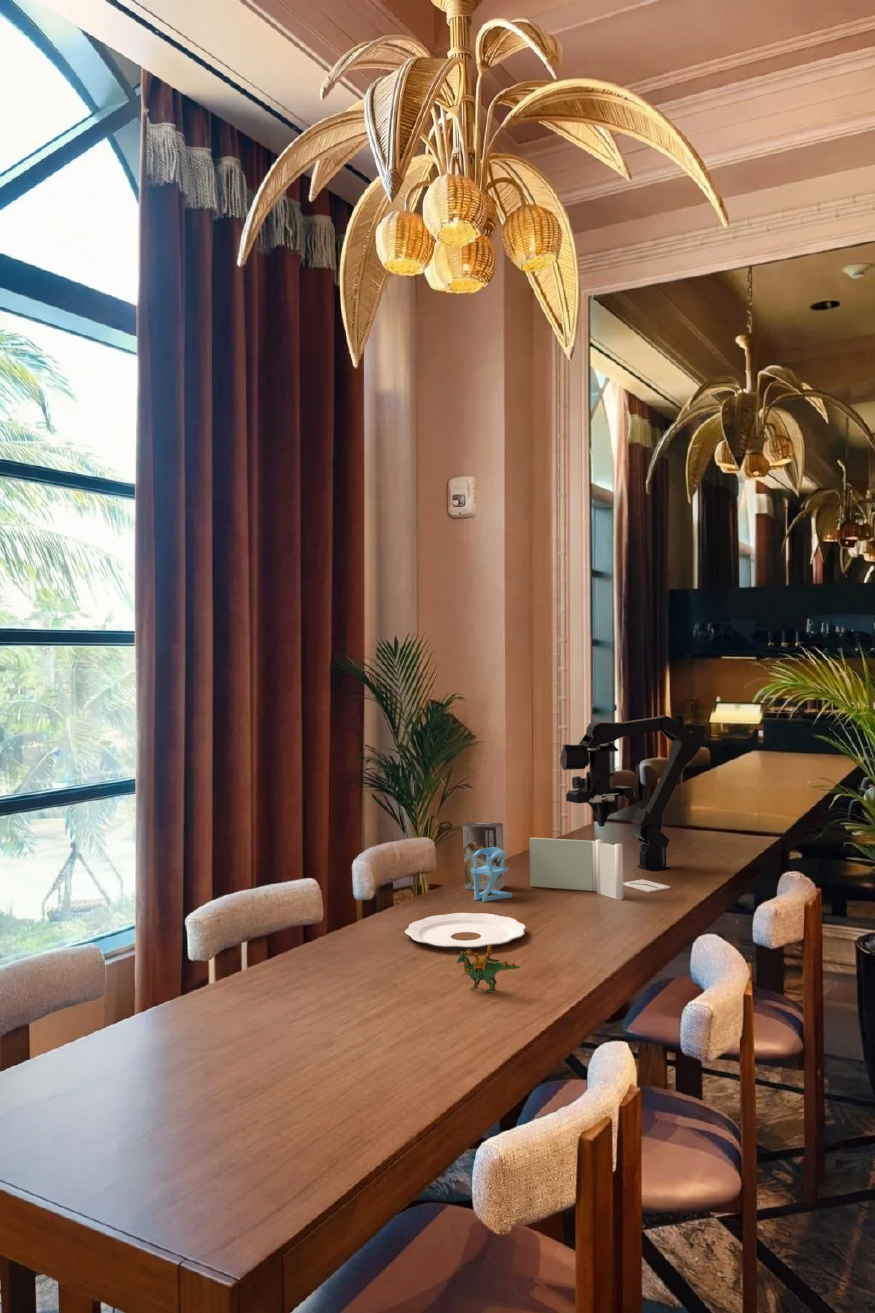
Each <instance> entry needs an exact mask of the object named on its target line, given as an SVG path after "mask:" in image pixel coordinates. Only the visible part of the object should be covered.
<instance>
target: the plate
mask: <svg viewBox="0 0 875 1313" xmlns="http://www.w3.org/2000/svg"><path fill="white" fill-rule="evenodd" d="M526 929H527V927H526V925H525V924H523V923H521V922H519V921H518V920H516V919H515V918H512V917H509V916H502V915H496V914H492V913H487V912H486V913H484V912H481V913H480V912H479V913H478V912H477V913H476V912H474V913H471V912H455V913H448V914H447V913H446V914H440V915H439V914H438V915H432V916H427V917H425V918H423V919H420V920H415V921H413V922H411V923H409V925H408V928H406V929H405V931H404V932H405V935H406V936H408V937H409V938H411V939H412V941H414V942H416V943H418V944H423V945H424V944H425V945H426V946H430V947H432V948H436V949H437V948H438V949H443V950H451V951H452V950H453V951H468V950H470V951H473V950H474V951H477V950H486V949H488V946H489V945H491V946H492V948H496V947H499V946H503V945H506V944H509V943H510V942H512V941H515V940H518V939H520V938H522V937H523V936H525V931H526ZM459 933H474V934H479V935H480V937H479V938H476V939H471V940H469V939H468V940H461V939H455V938H453V937H452V936H453V935H455V934H459Z"/></svg>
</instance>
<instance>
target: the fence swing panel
mask: <svg viewBox="0 0 875 1313" xmlns="http://www.w3.org/2000/svg"><path fill="white" fill-rule="evenodd" d="M528 840H529V841H528V842H529V878H530V879H529V885H530V887H540V888H541V887H542V888H554V889H566V890H579V891H595V892H597V878H596V840H587V839H586V840H584V839H565V838H564V839H563V838H561V839H560V838H549V837H548V838H545V837H529V838H528Z"/></svg>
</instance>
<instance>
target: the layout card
mask: <svg viewBox="0 0 875 1313" xmlns="http://www.w3.org/2000/svg"><path fill="white" fill-rule="evenodd" d="M623 886H625V887H629V888H632V889H633V888H634V889H637V890H639V891H643V892H647V893H652V892H657V891H663V890H668V889H671V886H669V885H666V884H662V883H659V882H654V881H650V880H647V879H642V878H641V879H638V880H637V879H636V880H630V881H626V882H624V881H623Z"/></svg>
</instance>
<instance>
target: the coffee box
mask: <svg viewBox="0 0 875 1313" xmlns="http://www.w3.org/2000/svg"><path fill="white" fill-rule="evenodd" d="M503 832H504V831H503V823H501V822H500V823H499V822H479V821H478V822H472V821H470V822H468V823H465V825H463V826H462V837H463V839H462V840H463V841H462V842H463V844H462V845H463V866H464V867H463V868H464V870H463V871H464V889H465V890H474V876H473V873H471V869H473V868H474V861H473V858H472V855H474V854H475V853H476V851H478V850H480V849H483V848H490V847H497V848H499V849H501V850H502V851H504V835H503ZM491 856H492V855H489V857H491ZM476 861H477V864H478V867H482V866H484V865H486V855H485V854H479V855H478V856H477V858H476ZM501 861H502V857H500V856H499V857H497V858H495V859H494V860H493V861H492V865H493V866H497V867H501ZM478 867H477V868H478ZM489 882H490V876H487V875H484V874H480V876H479V891H484V890H486V889H487V887H488V884H489ZM504 887H505V872H504V873H502V874H501V875H499V876H498V877H497V878H496V880H495V882H494V884H493V886H492V888H491V889H492V890H497V891H501V889H503V888H504Z"/></svg>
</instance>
